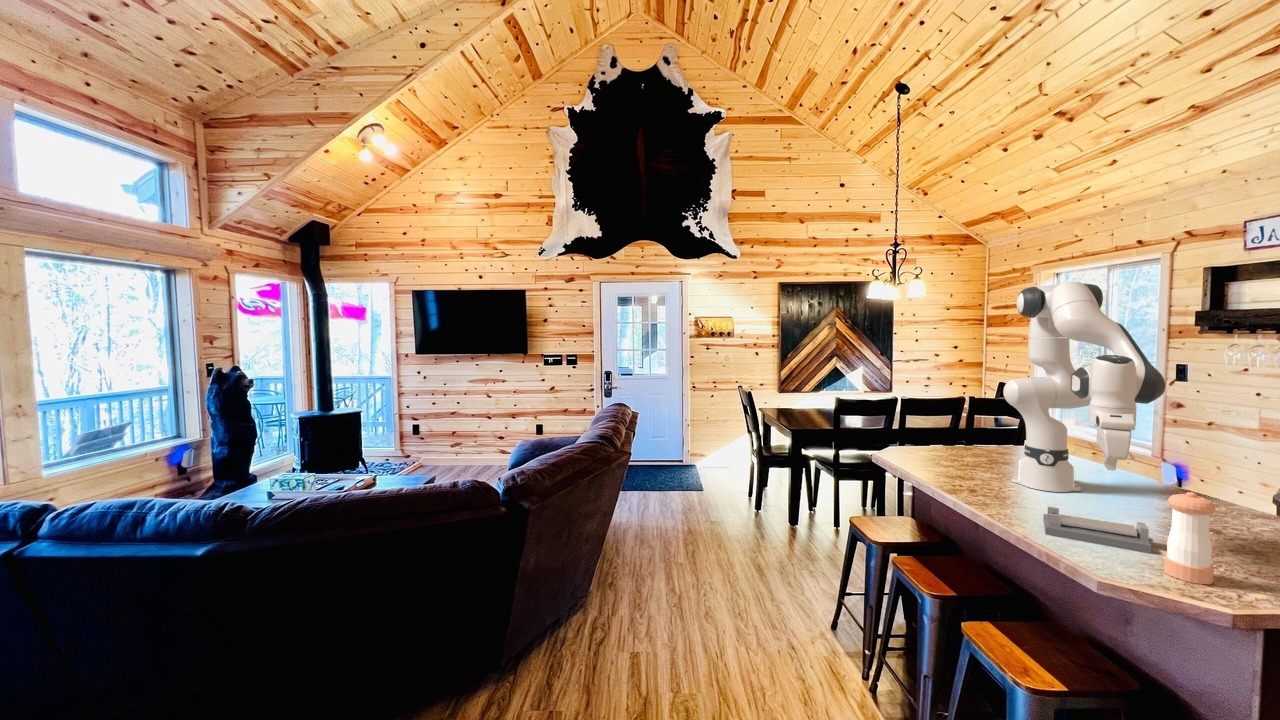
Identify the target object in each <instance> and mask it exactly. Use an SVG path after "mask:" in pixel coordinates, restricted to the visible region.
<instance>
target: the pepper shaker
mask: <svg viewBox="0 0 1280 720" xmlns="http://www.w3.org/2000/svg"><path fill="white" fill-rule="evenodd" d="M1166 501H1167V504H1168V506H1169V507H1171V508H1172V512H1171V527H1170V530H1169V534H1168V538H1167V542H1166V549H1167V550H1166V554H1165V555H1164V557H1163V559H1164V560H1163V572H1164V573H1165V574H1166V573H1167V574H1166V575H1168V576H1169V575H1170V576H1169V577H1171V576H1173V577H1172V578H1174V577H1175V578H1174V579H1176V578H1179V579H1182V580H1186V581H1189V582H1188V583H1190V582H1194V583H1193V584H1195V583H1200V584H1199V585H1202V584H1210V585H1213V584H1214V569H1215V568H1214V566H1213V564H1212V558H1213V557H1212V556H1213V547H1212V542H1211V538H1210V515H1213V514H1214V513H1215V512H1216V506H1215V504H1214V503H1213V502H1212V501H1211V500H1209V499H1207V498H1205V497H1202V496H1199V495H1197V493H1196V492H1192V491H1186V493H1177V494H1172V495H1170V496H1169V497H1168V499H1167V500H1166ZM1179 579H1178V580H1179ZM1182 580H1181V581H1182ZM1186 581H1185V582H1186ZM1212 583H1213V584H1212Z"/></svg>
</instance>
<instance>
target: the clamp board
mask: <svg viewBox="0 0 1280 720" xmlns="http://www.w3.org/2000/svg"><path fill="white" fill-rule="evenodd" d="M1050 513H1056V514H1060V508H1059V507H1053V506H1049V505H1048V506H1047V514H1046V513H1043V514H1042V516H1043V518H1042V521H1043V526H1044V527H1043V528H1044V535H1047V536H1052V537H1059V538H1064V539H1068V540H1075V541H1079V542H1086V543H1089V544H1090V543H1091V544H1096V545H1103V546H1108V547H1112V548H1117V549H1124V550H1130V551H1135V552H1140V553H1145V554H1151V555H1152V544H1151V543H1150V541H1149V533H1150V531H1149V528H1148V526H1147V525H1146V523H1145V522H1142V521H1141V522H1140V521H1136V528H1135V529H1136V531H1137V536H1131V535H1125V534H1119V533H1112V532H1106V531H1100V530H1094V529H1087V528H1081V527H1075V526H1069V525H1062V524H1061V515H1062V514H1060V515H1055V514H1050Z"/></svg>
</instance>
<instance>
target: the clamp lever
mask: <svg viewBox="0 0 1280 720" xmlns="http://www.w3.org/2000/svg"><path fill="white" fill-rule="evenodd" d="M1050 514H1055V515H1061V524H1062V525H1069V526H1075V527H1081V528H1087V529H1094V530H1100V531H1106V532H1112V533H1119V534H1125V535H1131V536H1137V531H1136V529H1137V528H1136V527H1135V526H1134V525H1132V524H1124V523H1119V522H1118V523H1117V522H1112V521H1106V520H1099V519H1092V518H1087V517H1086V518H1085V517H1079V516H1072V515H1066V514H1060V513H1059V514H1056V513H1050Z"/></svg>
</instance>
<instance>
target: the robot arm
mask: <svg viewBox="0 0 1280 720" xmlns="http://www.w3.org/2000/svg"><path fill="white" fill-rule="evenodd" d="M1103 295H1104V293H1103V291H1102V289H1101V287H1099V286H1098V285H1097V284H1092V283H1083V282H1079V281H1066V282H1063V283H1058V284H1054V285H1052V284H1050V285H1043V286H1030V287H1027V288H1024V289H1021V291H1020V292H1019V293H1018V295H1017V298H1016V309H1017V311H1018V313H1019V314H1020V315H1021V317H1025V318H1030V322H1029V327H1028V334H1027V335H1028V336H1027V339H1028V340H1027V341H1028V342H1027V348H1028V349H1027V350H1028V351H1027V357H1028V360H1029V361H1030V362H1031V363H1032V364H1034V365H1035V366H1038V367H1039V368H1042V369H1043V370H1044V372H1045V374H1046V376H1045V377H1043V376H1041V377H1039V376H1031V377H1030V376H1027V377H1017V378H1012V379H1009V380H1008V381H1007V382H1006V383H1005V385H1004V387H1003V391H1002V393H1003V398H1004V399H1005V401H1006V402H1007V403H1008V404H1009V405H1010V406H1012V407H1013V408H1015V409H1016V411H1018V412H1019V414H1020V415H1021V416H1022V417H1021V418H1023V421H1024V424H1025V434H1026V435H1025V440H1026V441H1025V444H1024V448H1023V449H1024V450H1023V451H1024V453H1023V454H1024V457H1022V458H1021V459H1019V460H1018V462H1017V468H1018V470H1017V474H1016V475H1015V476H1014V477H1012V478H1011V482H1012V483H1015V484H1018V485H1022V486H1023V487H1027V488H1031V489H1035V490H1040V491H1043V492H1045V491H1046V492H1052V493H1068V492H1082V488H1081V487H1080V486H1079V485H1077V483H1075V467H1074V466H1073V465H1072V464H1071V462H1069V457H1070V452H1069V448H1068V428H1067V426H1066V425H1065V424H1064V423H1063V422H1062V421H1060V420H1058V419H1056V418H1054V417H1051V415H1050V411H1049V409H1063V410H1064V409H1065V410H1066V409H1067V410H1069V409H1070V410H1071V409H1079V408H1083V407H1084V408H1085V407H1087V406H1089V407H1088V408H1089V409H1088V410H1089V411H1088V422H1089V423H1091V424H1094V428H1095V430H1096V443H1097V446H1098V447H1099V448H1100V450H1101V451H1102V452H1103V457H1104V468H1106V470H1107V471H1116V470H1117V462H1118V461H1126V460H1127V459H1128V457H1129V452H1130V447H1131V439H1132V431H1135V430H1136V426H1137V404H1144V405H1145V404H1147V405H1148V404H1150V403H1153V402H1155V401H1156V400H1157V399H1159V398H1161V397H1162V396H1163V395H1164V393H1165V391H1166V382H1165V378H1164V377H1163V375H1162V373H1161V372H1160V371H1159V370H1158V369H1157V368H1156V367H1155V366H1154V365H1153V364H1152V363H1151V362H1150V361H1149V359H1148V358H1147V356H1146V355H1145V354H1144V352H1143V350H1141V348H1140V347H1139V345H1138V344H1137V343H1136V341H1135V339H1133V337H1132V336H1131V334H1130V333H1129V331H1128V330H1127V329H1126V327H1124V325H1123V324H1121V323H1119V322H1117V321H1115V320H1112V318H1110V317H1109V316H1107V315H1106V314H1105V313H1104V312H1103V311H1102V310H1101V308H1102V306H1103V301H1104V296H1103ZM1070 340H1072V341H1075V342H1082V343H1087V344H1093V345H1096V346H1099V347H1102V348H1105V349H1108V350H1109V351H1110V352H1112V353H1113V354H1105V355H1104V354H1103V355H1098V356H1095V357H1094V358H1093V360H1092V363H1090V364H1088V365H1086V366H1081V367H1079V368H1077V369H1075V367H1074V365H1073V364H1072V363H1073V362H1072V359H1071V352H1070V349H1071V347H1070Z"/></svg>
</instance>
